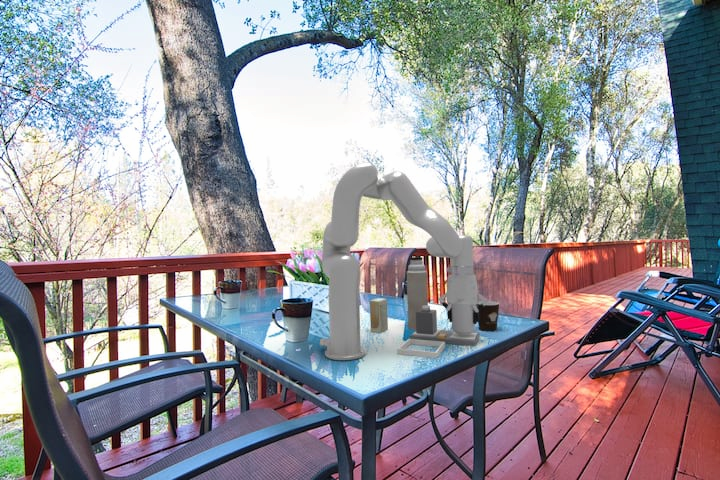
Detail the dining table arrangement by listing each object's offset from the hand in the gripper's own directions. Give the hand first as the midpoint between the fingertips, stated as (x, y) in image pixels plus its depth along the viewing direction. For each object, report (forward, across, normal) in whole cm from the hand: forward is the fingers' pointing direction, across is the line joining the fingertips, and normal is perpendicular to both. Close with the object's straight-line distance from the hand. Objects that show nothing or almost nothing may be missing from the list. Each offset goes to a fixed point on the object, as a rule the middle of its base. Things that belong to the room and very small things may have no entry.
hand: (463, 322), depth 128 cm
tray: (+6, -10, -16) cm, 20 cm away
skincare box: (+7, -32, +3) cm, 33 cm away
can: (+4, 0, 0) cm, 4 cm away
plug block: (+4, -13, 0) cm, 14 cm away
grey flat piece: (+6, -6, 0) cm, 9 cm away
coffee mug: (+6, +5, +18) cm, 20 cm away
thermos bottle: (+6, -19, +12) cm, 24 cm away
